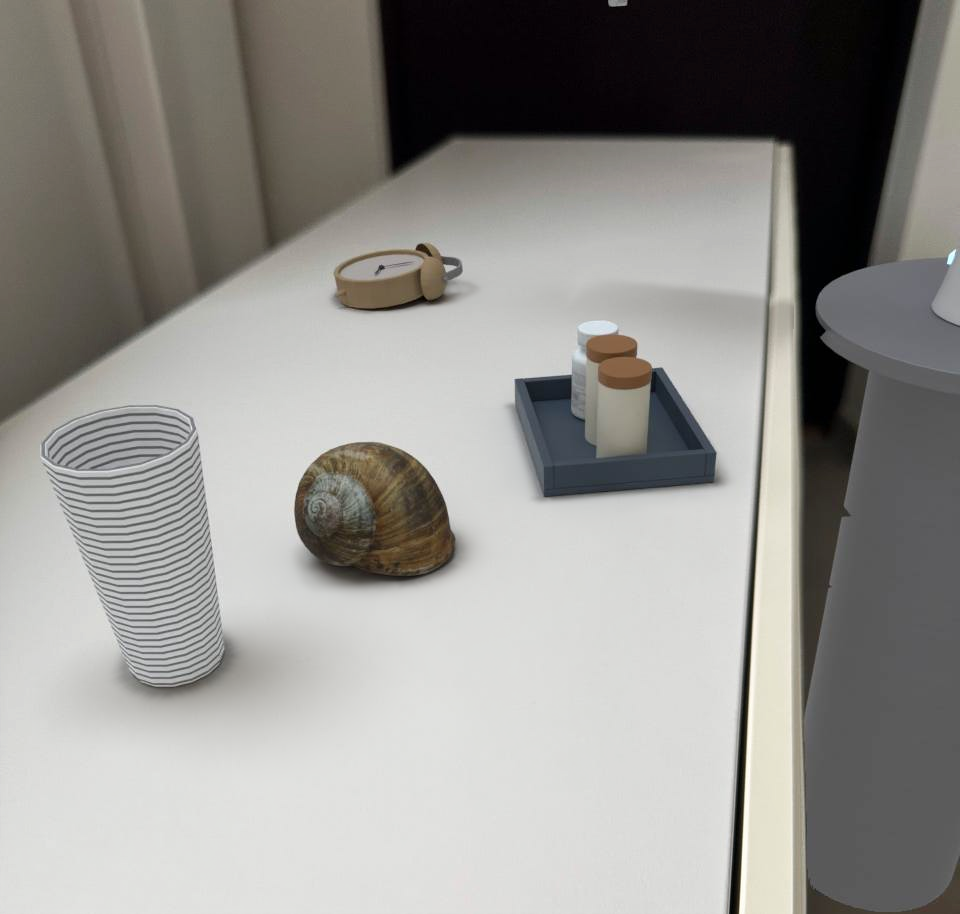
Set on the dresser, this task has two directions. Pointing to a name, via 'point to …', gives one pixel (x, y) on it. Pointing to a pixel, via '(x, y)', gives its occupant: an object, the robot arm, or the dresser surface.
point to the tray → (572, 460)
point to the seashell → (373, 511)
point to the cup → (143, 534)
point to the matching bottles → (616, 396)
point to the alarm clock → (394, 276)
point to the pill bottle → (579, 362)
